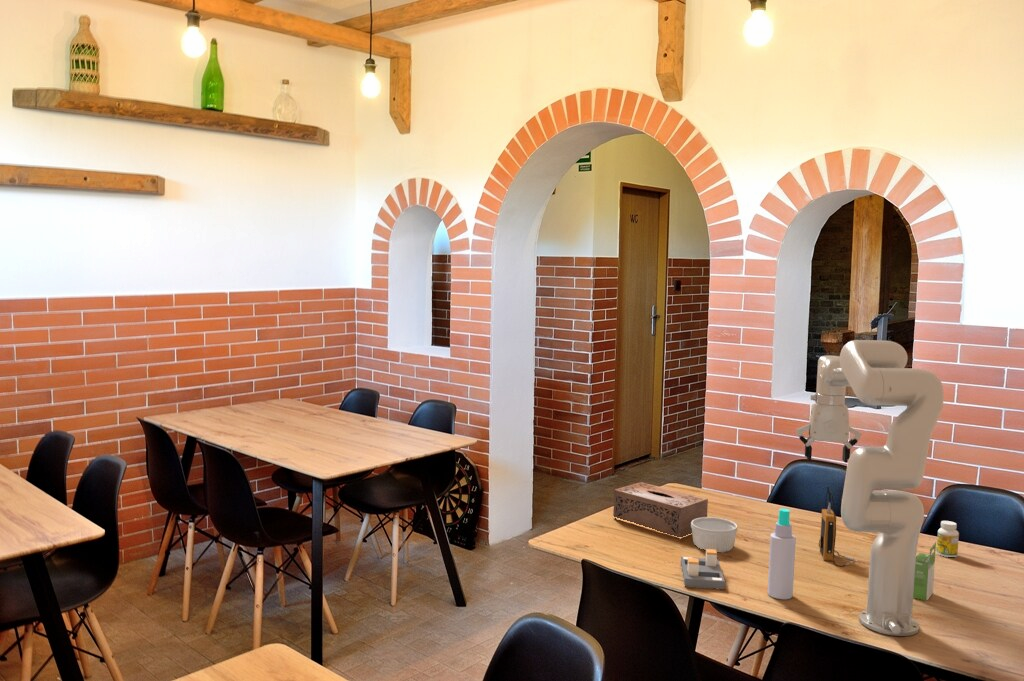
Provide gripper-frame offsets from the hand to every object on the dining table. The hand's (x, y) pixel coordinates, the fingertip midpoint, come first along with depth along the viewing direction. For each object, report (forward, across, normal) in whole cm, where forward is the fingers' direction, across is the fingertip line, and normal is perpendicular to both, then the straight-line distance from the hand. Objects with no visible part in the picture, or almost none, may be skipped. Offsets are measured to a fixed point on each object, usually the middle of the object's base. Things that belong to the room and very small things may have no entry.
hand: (826, 460), depth 229 cm
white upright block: (+29, -37, -25) cm, 53 cm away
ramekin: (+29, -30, +4) cm, 42 cm away
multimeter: (+29, +6, +2) cm, 29 cm away
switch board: (+29, -34, -21) cm, 49 cm away
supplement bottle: (+29, +37, +12) cm, 49 cm away
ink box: (+29, +20, -21) cm, 41 cm away
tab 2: (+29, -32, -17) cm, 46 cm away
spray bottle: (+29, -16, -29) cm, 44 cm away
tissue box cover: (+29, -45, +22) cm, 58 cm away
